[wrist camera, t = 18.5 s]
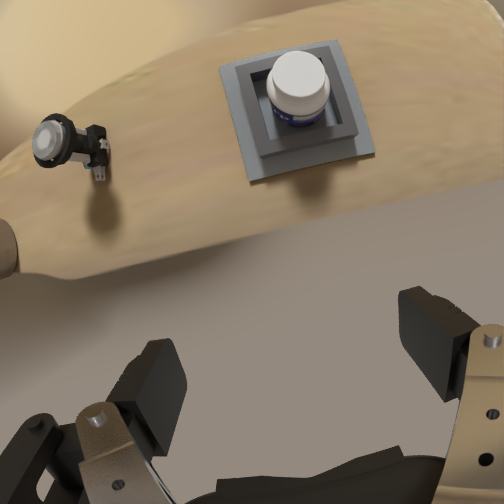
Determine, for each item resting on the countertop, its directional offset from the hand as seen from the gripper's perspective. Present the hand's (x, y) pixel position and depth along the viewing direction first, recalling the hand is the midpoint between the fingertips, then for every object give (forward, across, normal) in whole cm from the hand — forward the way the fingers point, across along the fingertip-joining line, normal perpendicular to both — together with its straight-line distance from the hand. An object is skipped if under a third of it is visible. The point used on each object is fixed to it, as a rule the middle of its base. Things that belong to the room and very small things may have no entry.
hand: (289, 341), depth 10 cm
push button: (+25, +17, -12) cm, 33 cm away
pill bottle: (+22, -6, -12) cm, 26 cm away
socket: (+23, -5, -12) cm, 26 cm away
